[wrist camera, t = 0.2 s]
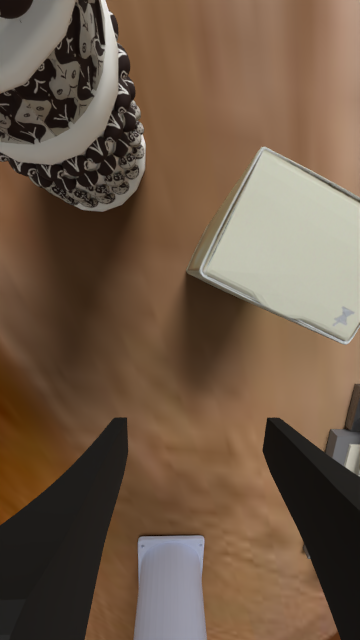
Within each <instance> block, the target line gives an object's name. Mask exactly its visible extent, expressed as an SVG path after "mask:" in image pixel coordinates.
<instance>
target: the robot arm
mask: <svg viewBox="0 0 360 640" xmlns="http://www.w3.org/2000/svg"><path fill="white" fill-rule="evenodd" d="M263 453H264V456H265V459H266V462H267V465H268V467H269V470H270V473H271V475H272V477H273V479H274V481H275V483H276V485H277V487H278V489H279V491H280V493H281V495H282V498H283V500H284V502H285V504H286V506H287V508H288V510H289V512H290V514H291V516H292V518H293V520H294V522H295V524H296V526H297V528H298V530H299V532H300V535H301V537H302V539H303V541H304V544H305V546H306V549H307V551H308V554H309V556H310V559H311V561H312V564H313V566H314V569H315V571H316V574H317V576H318V579H319V581H320V584H321V587H322V589H323V592H324V595H325V597H326V600H327V602H328V605H329V608H330V610H331V613H332V616H333V619H334V621H335V624H336V627H337V630H338V632H339V635H340V638H341V640H360V477H359V476H358V475H356V474H355V473H353V472H352V471H350V470H349V469H347V468H346V467H344V466H343V465H341V464H340V463H339V462H337V461H336V460H334V459H333V458H331V457H330V456H329V455H327V454H326V453H325V452H323V451H322V450H320V449H319V448H318V447H316V446H315V445H314V444H313V443H311V442H310V441H309V440H307V439H306V438H305V437H303V436H302V435H301V434H300V433H298V432H297V431H296V430H294V429H293V428H292V427H291V426H289V425H288V424H287V423H285V422H284V421H283V420H281V419H280V418H267V423H266V430H265V437H264V444H263ZM127 455H128V435H127V418H114V419H113V420H112V421H111V422H110V423H109V425H108V426H107V427H106V428H105V430H104V431H103V432H102V433H101V434H100V436H99V437H98V438H97V439H96V440H95V441H94V442H93V444H92V445H91V446H90V447H89V448H88V449H87V450H86V451H85V452H84V454H83V455H82V456H81V457H80V458H79V459H78V460H77V461H76V462H75V463H74V464H73V465H72V466H71V467H70V468H69V469H68V470H67V471H66V472H65V473H64V474H63V475H62V476H61V477H60V478H58V479H57V480H56V481H55V482H54V483H53V484H52V485H51V486H50V487H48V488H47V489H46V490H45V491H44V492H43V493H41V494H40V495H39V496H38V497H37V498H35V499H34V500H33V501H32V502H30V503H29V504H28V505H27V506H25V507H24V508H23V509H22V510H20V511H19V512H18V513H17V514H15V515H14V516H12V517H11V518H10V519H8V520H7V521H6V522H4V523H3V524H2V525H0V640H84V639H85V634H86V629H87V624H88V619H89V614H90V609H91V604H92V599H93V594H94V589H95V584H96V579H97V575H98V570H99V565H100V561H101V556H102V551H103V547H104V542H105V539H106V535H107V531H108V527H109V524H110V520H111V517H112V514H113V510H114V507H115V503H116V500H117V496H118V493H119V490H120V486H121V483H122V479H123V475H124V471H125V466H126V460H127ZM203 554H204V537H203V536H201V535H194V536H142V537H140V538H139V539H138V573H139V592H138V602H137V611H136V621H135V630H134V640H207V635H206V625H205V614H204V603H203V592H202V581H201V579H202V566H203Z"/></svg>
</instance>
